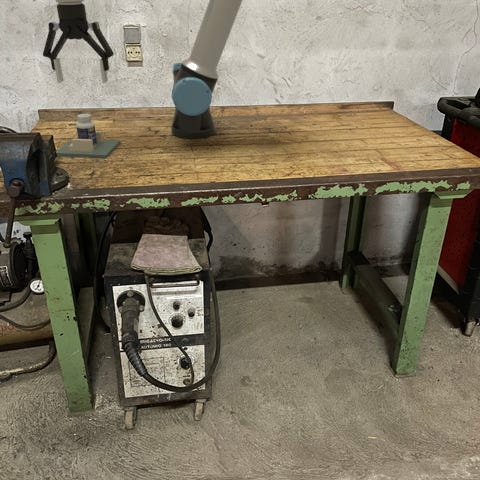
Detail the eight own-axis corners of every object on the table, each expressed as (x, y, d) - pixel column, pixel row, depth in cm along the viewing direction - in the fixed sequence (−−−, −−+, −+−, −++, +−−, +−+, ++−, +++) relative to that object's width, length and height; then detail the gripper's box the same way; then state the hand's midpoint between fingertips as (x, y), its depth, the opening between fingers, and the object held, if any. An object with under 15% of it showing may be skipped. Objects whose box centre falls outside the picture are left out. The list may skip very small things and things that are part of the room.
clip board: (120, 143, 161) (119, 129, 159) (106, 158, 149) (104, 143, 147) (73, 141, 162) (71, 127, 160) (54, 156, 150) (52, 141, 148)
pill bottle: (92, 149, 152) (88, 118, 148) (76, 148, 153) (71, 117, 149) (100, 144, 157) (96, 113, 152) (84, 143, 158) (79, 112, 153)
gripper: (118, 2, 140) (127, 79, 151) (32, 2, 142) (47, 78, 152) (110, 4, 134) (120, 84, 144) (20, 4, 135) (36, 84, 146)
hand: (82, 82), depth 148 cm, fingers open, 13 cm apart
